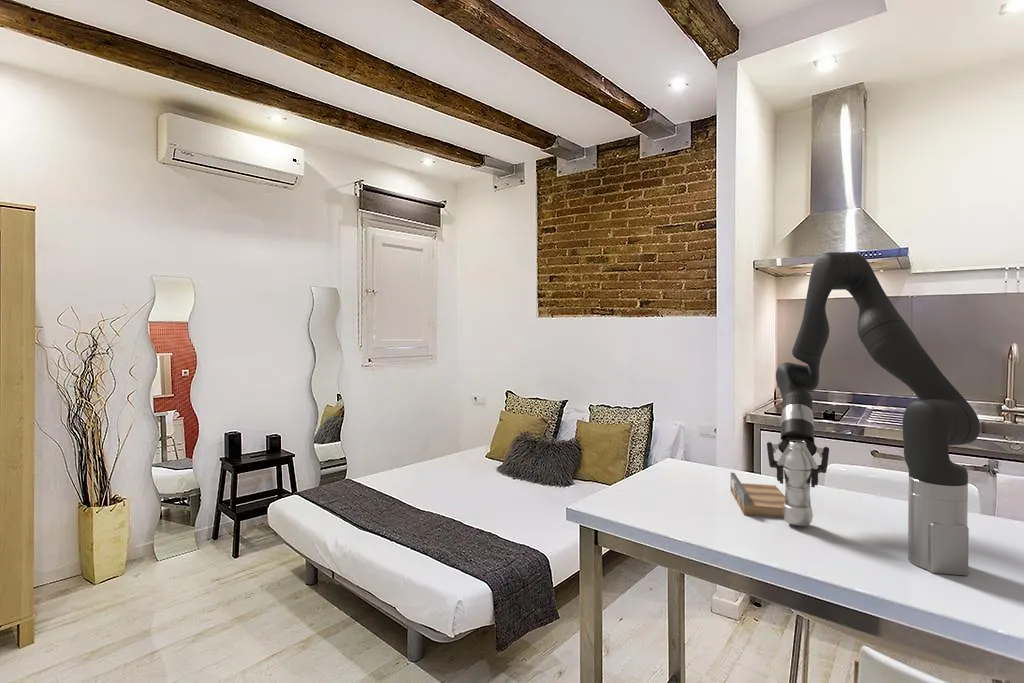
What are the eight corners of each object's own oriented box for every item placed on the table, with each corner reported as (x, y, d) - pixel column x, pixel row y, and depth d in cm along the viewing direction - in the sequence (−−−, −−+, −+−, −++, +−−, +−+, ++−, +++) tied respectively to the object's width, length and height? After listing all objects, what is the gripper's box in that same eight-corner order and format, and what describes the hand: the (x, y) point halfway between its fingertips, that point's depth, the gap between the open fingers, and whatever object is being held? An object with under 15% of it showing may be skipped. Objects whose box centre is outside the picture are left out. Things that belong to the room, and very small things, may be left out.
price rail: (748, 505, 134) (748, 493, 134) (741, 505, 134) (741, 493, 134) (734, 482, 153) (734, 472, 153) (728, 482, 154) (728, 472, 154)
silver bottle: (782, 526, 125) (782, 443, 125) (782, 517, 131) (782, 438, 131) (813, 531, 122) (813, 446, 122) (812, 521, 128) (812, 440, 128)
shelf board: (795, 518, 131) (795, 508, 131) (744, 514, 134) (744, 505, 134) (775, 493, 151) (775, 485, 151) (730, 491, 154) (730, 482, 153)
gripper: (765, 415, 136) (763, 472, 126) (830, 419, 129) (833, 479, 119) (766, 432, 141) (764, 487, 131) (829, 436, 134) (831, 496, 124)
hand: (797, 483), depth 125 cm, fingers closed on silver bottle, 6 cm apart
